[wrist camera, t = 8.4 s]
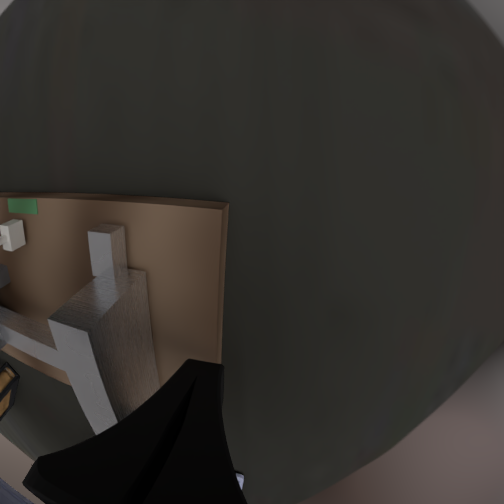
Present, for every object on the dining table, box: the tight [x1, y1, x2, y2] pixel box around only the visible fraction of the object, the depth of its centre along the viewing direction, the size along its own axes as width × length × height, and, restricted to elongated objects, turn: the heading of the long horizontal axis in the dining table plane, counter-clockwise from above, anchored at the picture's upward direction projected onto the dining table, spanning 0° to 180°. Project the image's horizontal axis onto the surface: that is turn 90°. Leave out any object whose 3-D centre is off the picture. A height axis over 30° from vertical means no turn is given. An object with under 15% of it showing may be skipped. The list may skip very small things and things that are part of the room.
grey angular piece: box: [0, 223, 160, 435], centre depth 10 cm, size 10×9×4 cm
